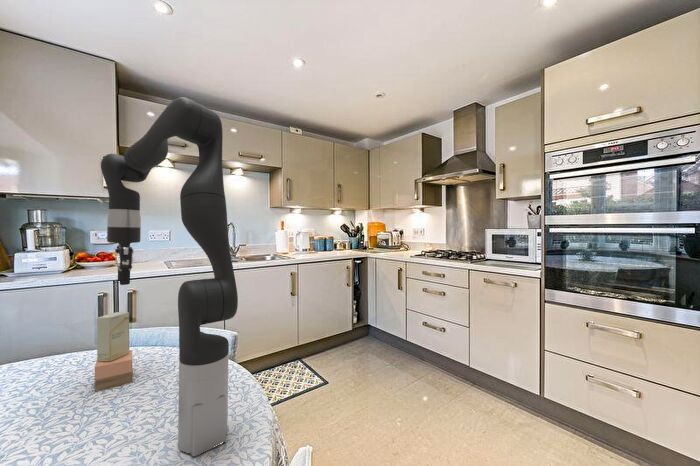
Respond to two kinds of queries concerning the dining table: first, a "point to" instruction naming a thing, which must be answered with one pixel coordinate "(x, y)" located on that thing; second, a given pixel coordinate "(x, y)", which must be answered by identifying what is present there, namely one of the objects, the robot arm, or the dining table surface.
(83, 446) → the dining table surface
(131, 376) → the walnut slab
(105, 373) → the terracotta slab
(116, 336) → the skincare box
